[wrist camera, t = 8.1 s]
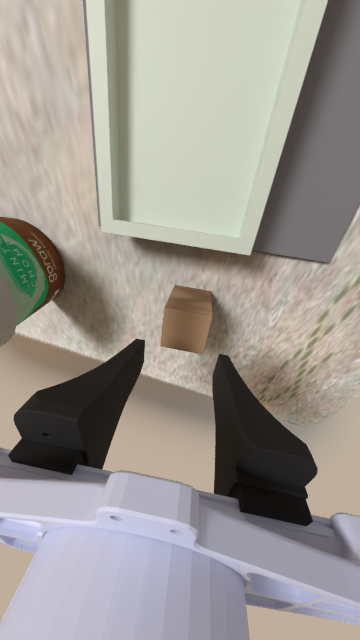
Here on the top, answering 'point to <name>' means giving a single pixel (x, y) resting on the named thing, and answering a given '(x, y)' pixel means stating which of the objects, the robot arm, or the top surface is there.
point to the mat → (313, 147)
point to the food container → (25, 273)
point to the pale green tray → (194, 112)
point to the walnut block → (187, 319)
